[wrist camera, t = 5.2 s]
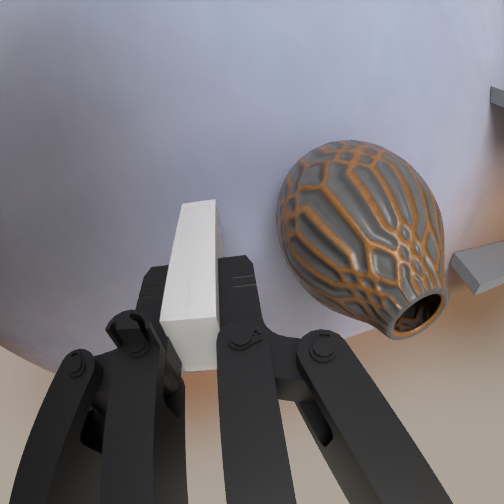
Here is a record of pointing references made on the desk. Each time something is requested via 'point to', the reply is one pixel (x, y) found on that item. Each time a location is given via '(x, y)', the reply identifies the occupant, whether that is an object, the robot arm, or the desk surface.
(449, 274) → the desk surface
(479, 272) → the box
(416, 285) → the vase
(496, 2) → the desk surface
